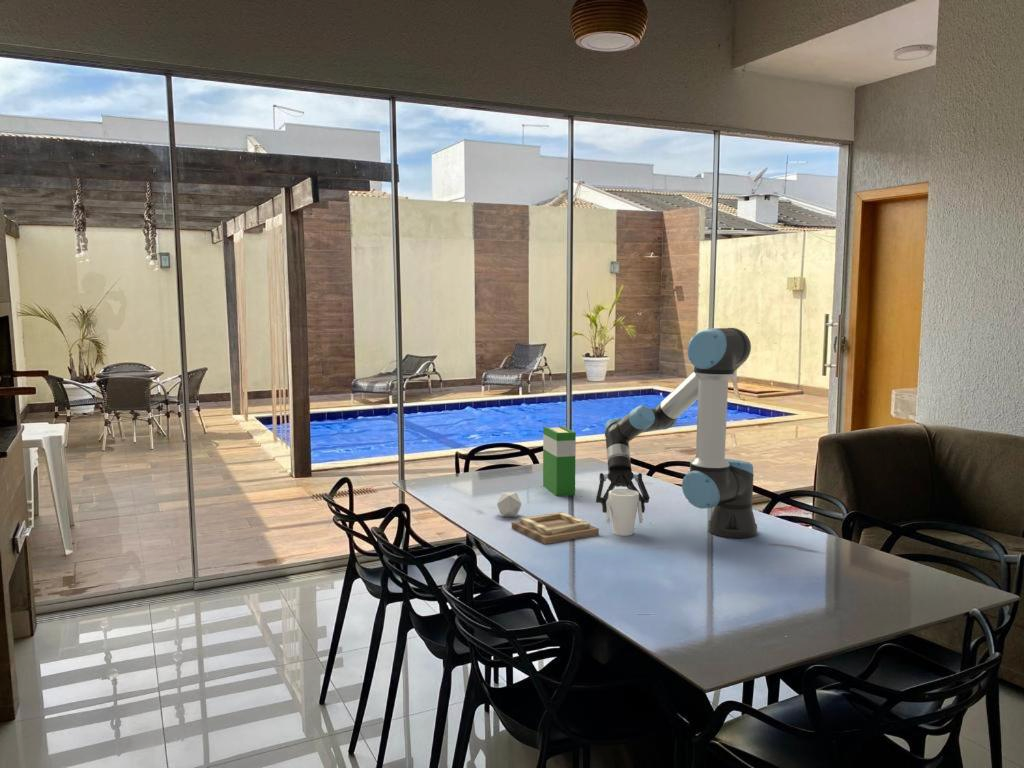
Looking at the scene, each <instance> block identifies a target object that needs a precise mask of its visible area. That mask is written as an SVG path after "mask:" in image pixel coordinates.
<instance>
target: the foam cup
mask: <svg viewBox="0 0 1024 768" xmlns="http://www.w3.org/2000/svg"><path fill="white" fill-rule="evenodd" d="M639 493H640V491H639V492H637V491H634V490H629V489H628V488H627V489H626V488H617V489H615V488H614V489H613V490H611V491H609V498H608V501H609V512H610V521H611V525H612V532H613V534H614V535H616V536H622V537H625V536H631V535H633V534H634V531H635V525H636V520H637V519H636V517H637V513H638V507H637V506H638V501H639Z"/></svg>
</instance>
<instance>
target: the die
mask: <svg viewBox="0 0 1024 768" xmlns="http://www.w3.org/2000/svg"><path fill="white" fill-rule="evenodd" d="M496 506H497V508H498V510H499V514H500V515H501V517H502V518H503V517H505V518H506V517H507V518H509V517H511V518H513V517H514V518H516V517H518V515H519V511H520V509H521V507H522V502H521V499H520V496H519V494H518V493H517V492H501V493H500V496H499V498H498V501H497V504H496Z"/></svg>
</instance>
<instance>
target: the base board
mask: <svg viewBox="0 0 1024 768" xmlns="http://www.w3.org/2000/svg"><path fill="white" fill-rule="evenodd" d="M511 529H512V530H515V531H517V532H519V533H520V534H523V535H525V536H527V537H529V538H530V539H531V538H532V539H534V540H535V541H538V542H539V543H542V544H543V545H547V544H553V543H558V542H559V543H560V542H565V541H571V540H575V539H576V540H577V539H582V538H588V537H594V536H599V535H600V528H598V527H596V526H594V525H591V522H587V521H586V520H583V519H581V518H578V517H575V516H573V515H571V514H568V513H566V512H563V511H559V512H552V513H545V514H539V515H532V516H525V517H520V518H519V520H515V521H511Z"/></svg>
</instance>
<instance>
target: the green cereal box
mask: <svg viewBox="0 0 1024 768" xmlns="http://www.w3.org/2000/svg"><path fill="white" fill-rule="evenodd" d="M542 427H543V429H542V431H543V433H542V434H543V435H542V440H543V441H542V443H543V444H542V446H543V447H542V449H543V450H542V451H543V452H542V454H543V455H542V486H543V487H544V488H545V489H546V490H547V491H549V492H550V493H551V494H553V495H554V496H555V497H566V496H567V495H569V496H575V495H576V449H577V448H576V446H577V445H576V441H577V439H576V438H577V437H576V435H577V434H576V433H577V432H576V431H574V430H572V429H569V428H567V427H565V426H563V425H558V427H548V426H545V425H544V426H542Z"/></svg>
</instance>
